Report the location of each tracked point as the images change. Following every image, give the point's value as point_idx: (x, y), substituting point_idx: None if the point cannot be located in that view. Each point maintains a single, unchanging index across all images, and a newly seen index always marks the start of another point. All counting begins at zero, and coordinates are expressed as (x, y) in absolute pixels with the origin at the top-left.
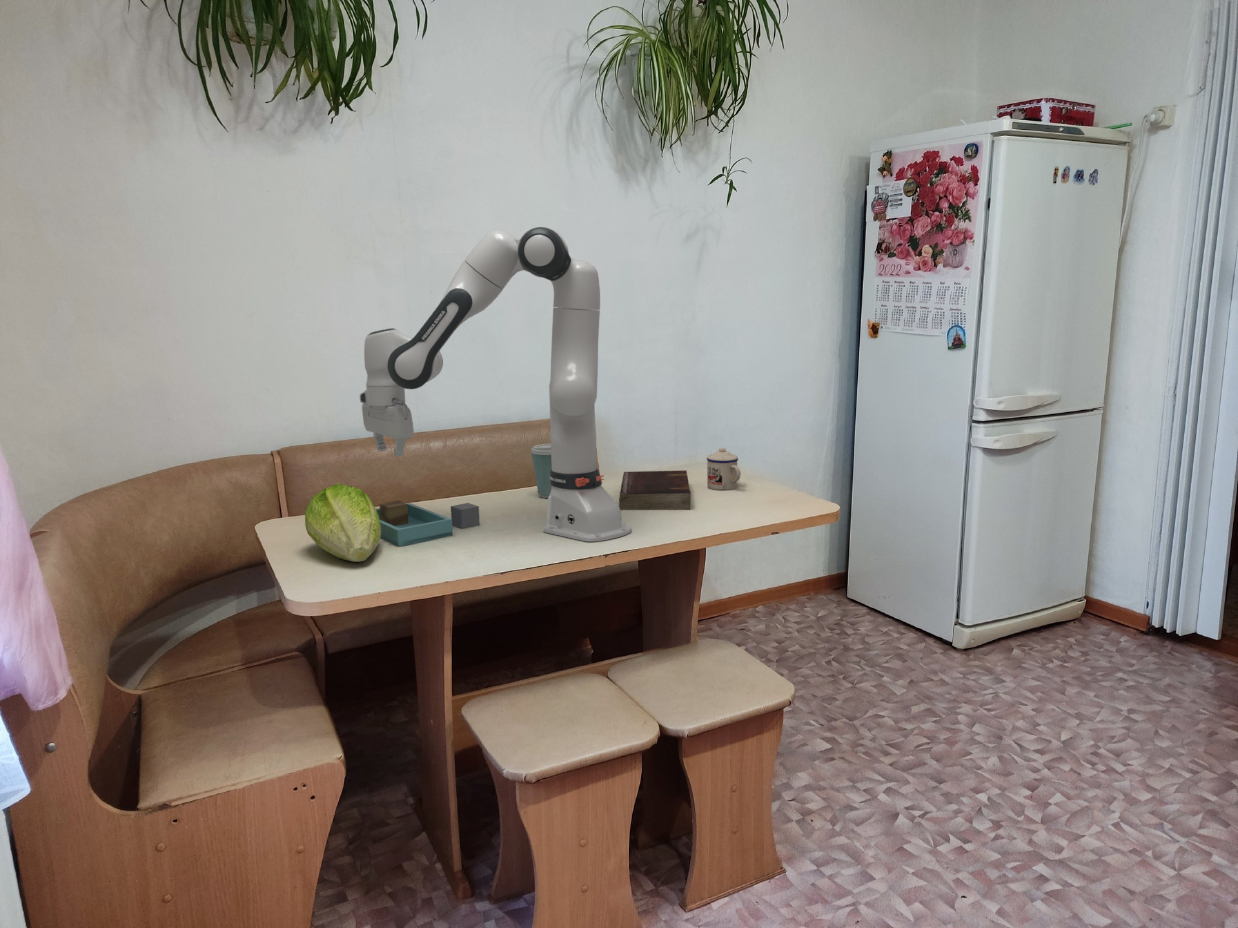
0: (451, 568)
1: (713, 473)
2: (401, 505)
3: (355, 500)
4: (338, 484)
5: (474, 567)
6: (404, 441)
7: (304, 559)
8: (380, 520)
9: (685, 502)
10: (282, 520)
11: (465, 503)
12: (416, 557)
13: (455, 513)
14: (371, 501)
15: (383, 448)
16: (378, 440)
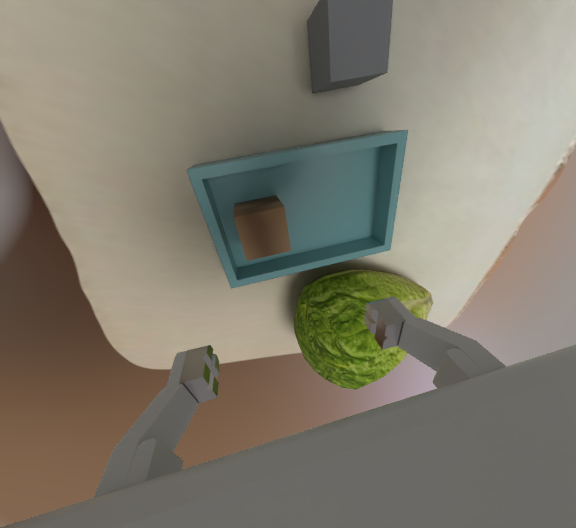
0: (500, 201)
1: None
2: (286, 221)
3: None
4: (372, 380)
5: (527, 172)
6: (476, 347)
7: None
8: (316, 262)
9: None
10: (128, 357)
11: (330, 5)
12: (431, 228)
13: (347, 81)
14: None
15: (211, 361)
16: (179, 423)
